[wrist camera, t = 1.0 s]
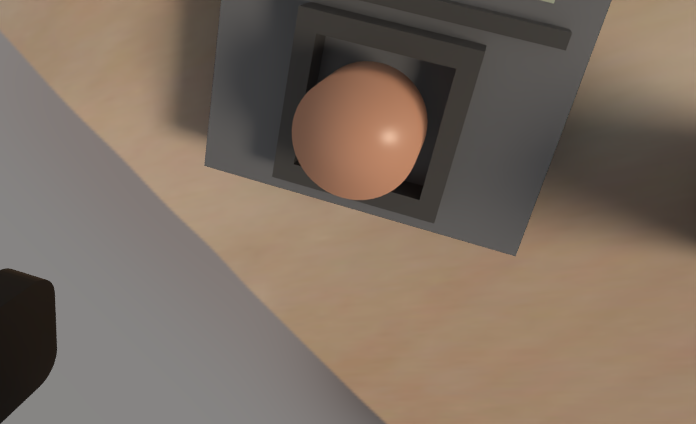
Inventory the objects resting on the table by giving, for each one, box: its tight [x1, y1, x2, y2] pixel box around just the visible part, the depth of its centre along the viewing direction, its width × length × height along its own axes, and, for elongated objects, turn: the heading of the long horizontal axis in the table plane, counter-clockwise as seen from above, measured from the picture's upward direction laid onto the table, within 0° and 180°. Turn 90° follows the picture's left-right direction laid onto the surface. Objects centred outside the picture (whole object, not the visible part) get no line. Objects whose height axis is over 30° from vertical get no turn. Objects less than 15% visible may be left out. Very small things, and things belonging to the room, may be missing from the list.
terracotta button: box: [292, 61, 428, 200], centre depth 22 cm, size 4×4×2 cm
